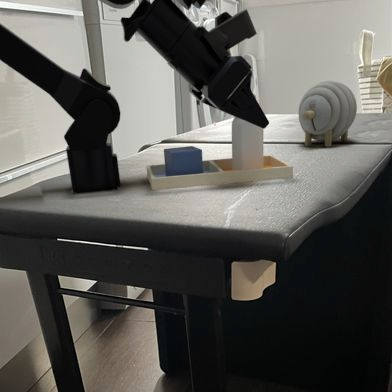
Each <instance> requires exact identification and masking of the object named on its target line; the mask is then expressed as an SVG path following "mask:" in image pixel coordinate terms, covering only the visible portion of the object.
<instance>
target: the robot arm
mask: <svg viewBox="0 0 392 392" xmlns="http://www.w3.org/2000/svg"><path fill="white" fill-rule="evenodd" d="M98 1H99V2H101V3H103V4H105V5H107V6H108V7H111V8H112V9H116V10H117V9H118V10H123V9H127V8H129V7H130V6H132V5H133V4H134V3H135V2H136V0H98ZM176 2H177V3H178V4H179V5H180V6H182V7H183V8H184V9H185V10H187V11H189V10H191V8H192V6H193V7H194V8H196V9H198V10H200V9H201V8H202V7H203V6H204V4H205V3H206V2H207V0H176ZM120 23H121V27H122V31H123V41H124V42H125V43H128V42H130V41H131V39H132V38H133V37H134V35H135V34H136V33H137V34H138V35H139V36H140V37H142V39H143V40H144V41H145V42H146V43H148V44H149V46H151V47H152V48H153V49H154V51H155V52H157V53H158V54H159V56H161V57H162V58H163V60H164V61H166V62H167V63H166V64H167V65H168V66H169V67H170V68H171V69H172V70H175V71H176V72H177V73H178V74H179V75H180V76H181V77H182V78H183V79H184V80H185V82H187V83H188V93H190V94H191V95H192V96H193V97H194V98H195V99H196V100H197V101H199V102H201V104H204V105H207V106H209V107H211V108H214V109H216V110H218V111H220V112H223V113H225V114H228V115H230V116H232V117H234V118H235V117H237V118H240V119H242V120H245V121H247V122H249V123H251V124H254V125H256V126H258V127H261V128H263V130H264V129H266V128H267V127H268V126H269V125H270V121H269V119H268V118H267V115H266V114H265V112H264V111H263V108H262V107H261V105H260V104H259V102H258V100H257V97H256V98H255V96H254V94H255V93H253V90H252V88H251V86H252V77H253V71H252V68H253V67H252V64H250V63H249V62H248V61H247V60H246V59H245V58H244V56H242V55H233V56H230V55H231V53H230V52H229V51H228V50H230V49H232V48H234V47H235V46H236V45H238V44H240V43H242V42H243V41H245V40H247V39H248V40H249V39H251V38H253V37H255V36H256V35H257V34H258V33H257V31H256V27H255V26H254V23H253V21H252V18H251V15H250V13H249V10H248V9H247V8H246V9H243V10H241V11H238V12H237V13H235V14H233V16H232V15H231V14H230V13H229V12H228V11H224V12H222V13H220V14H219V15H217V16H215V17H214V27H212V28H211V29H210V30H208V29H207V28H205V26H203V25H201V26H200V25H198V26H197V25H196V24H195V23H194V22H193V21H192V20H191V19H190V18H189V17H188V16H187V14H185V12H183V10H182V9H181V8H180V7H179V6H178V5H177V4H176V3H175V2H174V1H173V0H152V2H151V1H149V0H141V1H140V2H139V3H138V5H137V7H136V8H135V9H134V10H133V12H132V13H131V14H130V16H128V17H125V16H123V17H121V18H120ZM0 61H1V62H2V63H3V64H6V66H8V68H9V67H10V68H11V69H12V70H13V71H15V72H17V73H18V74H19V75H21V76H22V77H23V78H25V79H27V80H28V81H29V82H30V83H32V84H34V85H35V86H37V87H38V88H40V89H41V90H42V91H44V92H45V93H46V94H47V95H49V96H50V97H51V98H52V99H53V100H54V101H55V102H56V103H57V104H58V105H59V106H60V107H61V109H63V111H64V112H65V113H66V114H67V115H68V116H69V117H70V118H71V119H72V120H73V122H71V124H70V126H69V127H68V128H67V130H66V131H65V133H64V135H63V139H64V140H65V142H66V145H67V146H66V149H65V152H66V159H67V164H68V171H69V176H70V177H69V178H70V182H71V192H70V193H71V194H72V195H73V194H84V193H85V194H86V193H98V192H111V191H117V190H118V187H120V186H121V178H120V177H121V175H120V170H119V160H118V155H117V153H113V147H112V142H108V139H109V135H110V134H112V133H113V132H114V131H115V130H116V129H117V128H118V126H119V124H120V121H121V109H120V108H121V107H120V104H119V102H118V100H117V99H116V98H117V97H116V96H115V95H114V94H113V93H112V92H111V89H112V88H111V85H110V84H106V83H103V82H101V81H100V80H98V78H96V77H95V76H94V75H93V74H92V73H91V72H90V70H88V69H87V68H82V70H81V72H80V76H79V75H77V74H75V73H72V72H71V71H68V70H67V69H65V68H63V67H61V66H60V64H57V63H56V62H55V61H53V60H52V59H51V58H49V57H48V56H46V55H45V54H43V52H41V51H39V50H38V49H37V48H35V47H34V46H33V45H31V44H30V43H28V42H27V41H26V40H24V39H23V38H22V37H20V36H18V35H17V34H16V33H15V32H13V31H12V30H10V29H9V28H7V27H6V26H5V25H4V24H2V23H1V22H0Z"/></svg>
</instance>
